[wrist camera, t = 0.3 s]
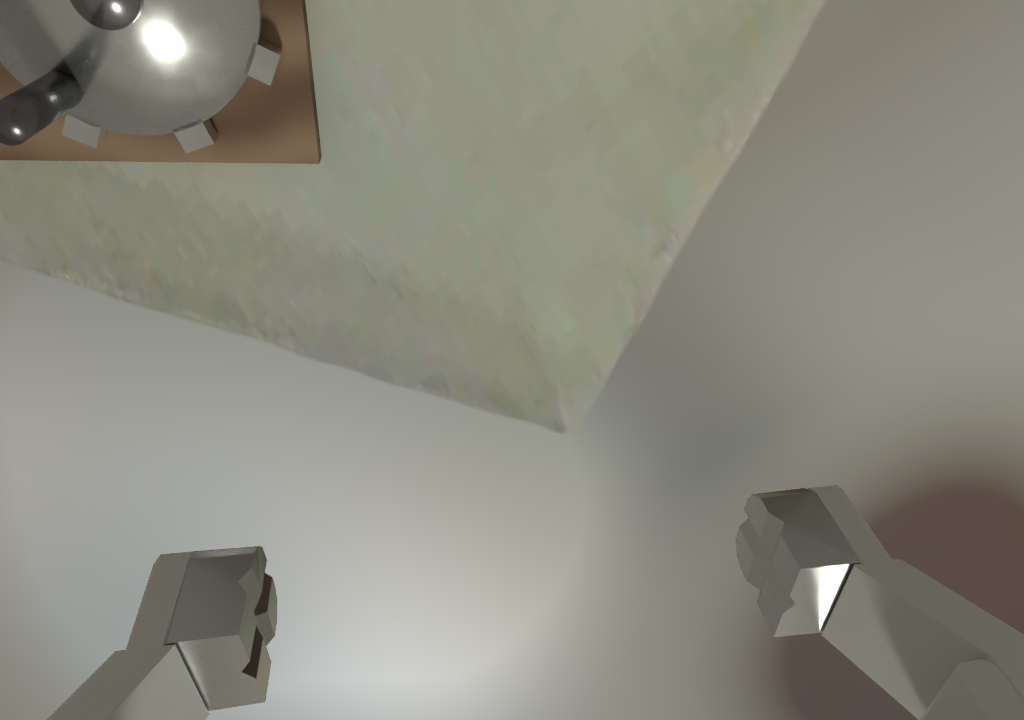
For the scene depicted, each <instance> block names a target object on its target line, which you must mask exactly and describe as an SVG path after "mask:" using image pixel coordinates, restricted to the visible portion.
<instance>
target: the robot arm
mask: <svg viewBox="0 0 1024 720" xmlns="http://www.w3.org/2000/svg"><path fill="white" fill-rule="evenodd" d="M745 511H746V514H747V515H748V517H749V518H748V519H747V520H746V521H745V522H744V523H743V524H742V525H740V527H739V529H738V533H737V538H736V547H737V557H738V560H739V564H740V567H741V570H742V572H743V574H744V576H745V578H746V580H747V581H748V582H750V583H751V584H752V585H754V586H755V587H756V588H758V589H759V590H760V594H759V598H758V602H757V603H758V606H759V608H760V610H761V612H762V614H763V616H764V618H765V620H766V622H767V624H768V626H769V628H770V630H771V632H772V634H773V636H774V637H780V636H790V635H800V634H810V633H819V632H823V633H822V636H824V637H825V638H826V639H827V640H828V641H829V642H830V643H831V644H833V645H834V646H835V647H836V648H837V649H838V650H839V651H841V652H842V653H843V654H844V655H845V656H846V657H848V658H849V659H850V660H851V661H852V662H853V663H854V664H855V665H857V666H858V667H859V668H860V669H861V670H862V671H863V672H865V673H866V674H867V675H868V676H869V677H871V678H872V679H873V680H874V681H875V682H876V683H877V684H879V685H880V686H881V687H882V688H883V689H884V690H885V691H886V692H888V693H889V694H890V695H891V696H892V697H893V698H894V699H896V700H897V701H898V702H899V703H900V704H901V705H902V706H904V707H905V708H906V709H907V710H908V711H909V712H910V713H912V714H913V715H914V716H915V717H916V718H917V719H919V720H1024V635H1023V634H1021V633H1020V632H1018V631H1017V630H1015V629H1013V628H1012V627H1010V626H1008V625H1007V624H1005V623H1004V622H1002V621H1000V620H999V619H997V618H995V617H994V616H992V615H991V614H988V613H987V612H986V611H984V610H982V609H981V608H979V607H978V606H976V605H974V604H973V603H971V602H969V601H968V600H966V599H964V598H963V597H961V596H960V595H958V594H956V593H955V592H953V591H951V590H950V589H948V588H946V587H945V586H943V585H941V584H940V583H938V582H936V581H935V580H933V579H932V578H930V577H929V576H927V575H925V574H923V573H922V572H920V571H919V570H917V569H915V568H914V567H912V566H910V565H909V564H907V563H905V562H904V561H902V560H892V559H891V558H890V556H889V555H888V553H887V552H886V551H885V549H884V547H883V546H882V545H881V543H880V542H879V540H878V539H877V538H876V536H875V535H874V533H873V532H872V531H871V529H870V528H869V526H868V525H867V523H866V522H865V521H864V519H863V518H862V516H861V515H860V513H859V512H858V510H857V509H856V508H855V506H854V505H853V503H852V502H851V500H850V499H849V498H848V496H847V495H846V494H845V492H844V491H843V489H841V488H840V487H838V486H837V485H835V486H825V487H816V488H808V489H805V488H801V489H792V490H785V491H775V492H766V493H758V494H752V495H751V496H750V497H749V498H748V499H747V503H746V506H745ZM266 561H267V559H266V556H265V554H264V551H263V548H262V547H260V546H256V547H243V548H230V549H219V550H205V551H194V552H183V553H172V554H161V555H160V557H159V558H158V559H157V561H156V562H155V564H154V565H153V568H152V571H151V574H150V577H149V580H148V583H147V587H146V590H145V593H144V596H143V599H142V602H141V605H140V608H139V611H138V614H137V617H136V621H135V623H134V626H133V629H132V632H131V636H130V639H129V642H128V645H127V648H126V650H121V651H115V652H114V653H113V654H112V655H111V656H110V657H109V658H108V659H107V660H106V661H105V662H104V663H103V664H102V666H101V667H99V668H98V669H97V670H96V671H95V672H94V673H93V674H92V675H91V676H90V677H89V679H87V680H86V681H85V682H84V683H83V684H82V685H81V686H80V687H79V688H78V689H77V690H76V691H75V692H74V693H73V694H72V695H71V696H70V697H69V698H68V699H67V700H66V701H65V702H64V703H63V704H62V705H61V706H60V707H59V708H58V709H57V710H56V711H55V712H54V713H53V714H52V715H51V716H50V717H49V718H48V719H47V720H205V719H206V718H207V716H208V715H209V713H208V711H210V710H217V709H223V708H230V707H236V706H243V705H249V704H255V703H262V702H265V700H266V693H267V686H268V680H269V679H268V678H269V673H270V666H271V660H270V657H269V654H268V651H267V648H266V646H267V644H268V643H269V642H270V641H271V640H272V638H273V637H274V636H275V631H276V623H277V596H276V589H275V585H274V581H273V578H272V577H271V576H269V575H268V574H266V573H265V568H266Z"/></svg>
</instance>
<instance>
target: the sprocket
mask: <svg viewBox="0 0 1024 720" xmlns="http://www.w3.org/2000/svg"><path fill="white" fill-rule="evenodd" d="M262 25H263V6H262V0H0V63H1V64H2V65H3V66H4V67H5V68H6V69H7V70H8V71H9V72H10V73H11V74H12V75H13V76H14V77H15V78H16V79H17V80H18V81H19V82H20V83H21V84H23V85H24V87H22V88H20V89H18V90H16V91H15V92H13V93H11V94H9V95H7V96H6V97H4V98H2V99H0V143H2V144H5V145H9V146H16V145H20V144H22V143H24V142H25V141H27V140H28V139H29V138H31V137H32V136H34V135H35V134H37V133H38V132H39V131H41V130H42V129H44V128H45V127H47V126H48V125H50V124H51V123H52V122H54V121H55V120H57V119H58V118H60V117H61V116H62V115H64V114H66V116H65V122H64V127H63V132H62V135H63V136H66V137H68V138H71V139H73V140H76V141H78V142H81V143H83V144H86V145H88V146H91V147H93V148H96V149H97V148H98V147H99V146H100V145H101V144H102V143H103V142H104V140H105V136H106V131H107V130H108V131H113V132H118V133H123V134H130V135H143V136H146V135H163V134H169V133H174V134H175V136H176V137H177V139H178V141H179V142H180V144H181V146H182V147H183V149H184V151H185V152H186V153H189V152H192V151H195V150H198V149H200V148H203V147H206V146H209V145H212V144H214V143H215V142H216V141H217V139H218V138H219V136H218V134H217V132H216V130H215V129H214V127H213V125H212V123H211V121H210V120H209V118H211V117H212V116H213V115H215V114H216V113H217V112H219V111H220V110H221V109H222V108H223V107H224V106H225V105H226V104H227V103H228V102H229V101H230V100H231V99H232V98H233V97H234V96H235V95H236V93H237V92H238V91H239V89H240V88H241V87H242V85H243V84H244V82H245V81H246V79H247V77H248V76H250V77H252V78H255V79H257V80H259V81H261V82H263V83H265V84H267V85H270V86H271V84H272V83H273V81H274V79H275V76H276V73H277V70H278V67H279V64H280V61H281V58H282V55H283V52H284V50H282V49H280V48H278V47H276V46H273V45H271V44H269V43H267V42H265V41H263V40H261V36H262Z"/></svg>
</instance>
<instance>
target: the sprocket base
mask: <svg viewBox="0 0 1024 720" xmlns="http://www.w3.org/2000/svg"><path fill="white" fill-rule="evenodd" d="M262 6H263V25H262V36H261V40H263V41H265V42H267V43H269V44H271V45H273V46H276V47H278V48H280V49H282V50H284V52H283V55H282V58H281V61H280V64H279V67H278V70H277V73H276V76H275V79H274V81H273V83H272V84H271V86H270V85H267V84H265V83H263V82H261V81H259V80H257V79H255V78H252V77H250V76H248V77H247V79H246V81H245V82H244V84H243V85H242V87H241V88H240V89H239V91H238V92H237V93H236V95H235V96H234V97H233V98H232V99H231V100H230V101H229V102H228V103H227V104H226V105H225V106H224V107H223V108H222V109H221V110H220V111H219V112H217V113H216V114H215V115H213V116H212V117H211V118H209V120H210V121H211V123H212V125H213V127H214V129H215V130H216V132H217V134H218V136H219V138H218V139H217V141H216V142H215V143H214V144H212V145H209V146H206V147H203V148H200V149H198V150H195V151H192V152H189V153H186V152H185V151H184V149H183V147H182V146H181V144H180V142H179V141H178V139H177V137H176V136H175V134H174V133H169V134H163V135H146V136H143V135H130V134H123V133H118V132H113V131H108V130H107V131H106V136H105V140H104V142H103V143H102V144H101V145H100V146H99V147H98V148H97V149H96V148H93V147H91V146H88V145H86V144H83V143H81V142H78V141H76V140H73V139H71V138H68V137H66V136H63V135H62V132H63V127H64V122H65V116H66V114H64V115H62V116H61V117H60V118H58V119H57V120H55V121H54V122H52V123H51V124H50V125H48V126H47V127H45V128H44V129H42V130H41V131H39V132H38V133H37V134H35V135H34V136H32V137H31V138H29V139H28V140H27V141H25V142H24V143H22V144H20V145H16V146H9V145H5V144H2V143H0V160H51V161H135V162H219V163H303V164H319V163H320V160H321V148H320V138H319V129H318V119H317V110H316V100H315V91H314V81H313V71H312V62H311V52H310V43H309V33H308V24H307V14H306V5H305V0H262ZM22 87H24V85H23V84H21V83H20V82H19V81H18V80H17V79H16V78H15V77H14V76H13V75H12V74H11V73H10V72H9V71H8V70H7V69H6V68H5V67H4V66H3V65H2V64H1V63H0V99H2V98H4V97H6V96H7V95H9V94H11V93H13V92H15V91H16V90H18V89H20V88H22Z"/></svg>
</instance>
